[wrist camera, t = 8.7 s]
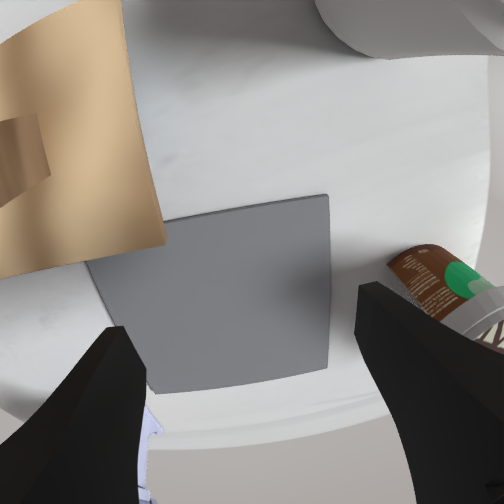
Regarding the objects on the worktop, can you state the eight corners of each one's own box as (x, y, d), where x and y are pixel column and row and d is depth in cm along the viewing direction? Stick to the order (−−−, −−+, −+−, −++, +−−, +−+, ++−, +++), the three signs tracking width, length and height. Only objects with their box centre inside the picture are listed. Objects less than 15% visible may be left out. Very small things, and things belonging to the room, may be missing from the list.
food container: (474, 283, 24) (534, 348, 15) (431, 325, 26) (482, 398, 17) (434, 197, 19) (533, 266, 10) (377, 253, 21) (455, 349, 12)
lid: (-3, 274, 14) (-42, 322, 10) (-55, 94, 8) (-111, 108, 4) (167, 237, 14) (150, 299, 10) (120, -8, 8) (78, -48, 4)
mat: (155, 390, 25) (155, 394, 25) (80, 239, 18) (78, 242, 17) (326, 364, 26) (327, 368, 26) (326, 193, 18) (328, 195, 18)
